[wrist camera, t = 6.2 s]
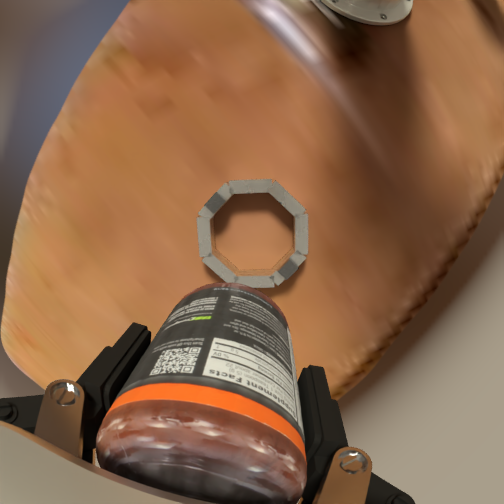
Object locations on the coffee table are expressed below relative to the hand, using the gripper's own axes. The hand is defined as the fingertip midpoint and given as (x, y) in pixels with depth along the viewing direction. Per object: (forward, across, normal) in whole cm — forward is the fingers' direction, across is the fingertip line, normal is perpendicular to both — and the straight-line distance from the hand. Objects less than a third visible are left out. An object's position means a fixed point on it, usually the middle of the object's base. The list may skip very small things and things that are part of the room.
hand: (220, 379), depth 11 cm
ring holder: (+20, 0, -2) cm, 20 cm away
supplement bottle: (+4, 0, 0) cm, 4 cm away
